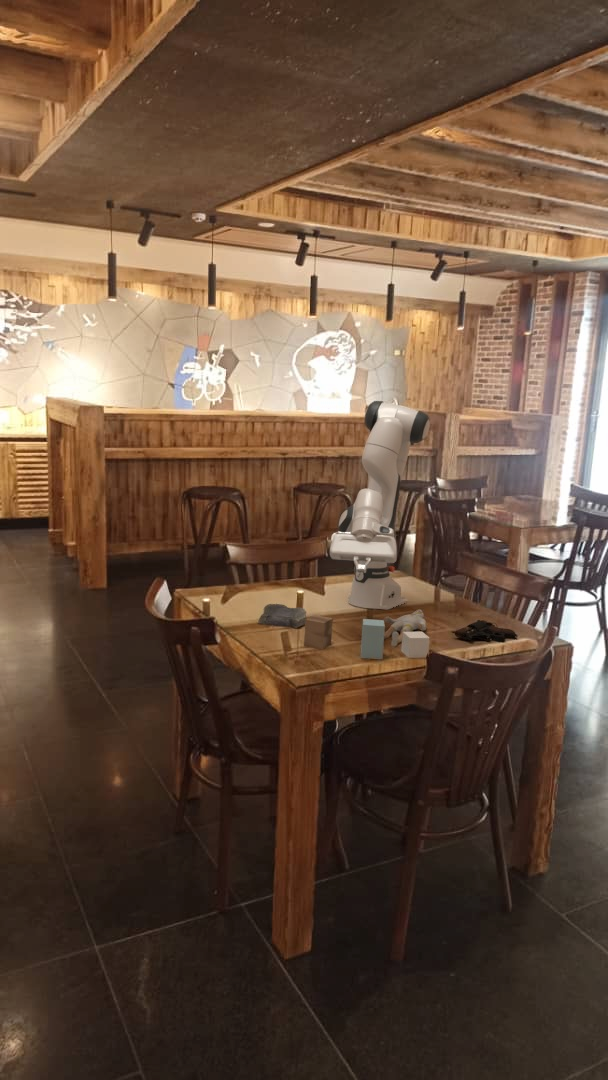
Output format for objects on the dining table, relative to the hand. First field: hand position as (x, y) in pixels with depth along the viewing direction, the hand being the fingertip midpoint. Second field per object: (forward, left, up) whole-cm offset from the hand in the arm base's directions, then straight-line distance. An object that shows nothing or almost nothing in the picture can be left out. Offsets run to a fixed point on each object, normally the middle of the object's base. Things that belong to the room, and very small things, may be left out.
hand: (360, 571), depth 233 cm
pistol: (-38, +21, -22) cm, 49 cm away
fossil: (+4, -29, -22) cm, 37 cm away
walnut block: (+12, -4, -22) cm, 25 cm away
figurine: (-19, +2, -22) cm, 30 cm away
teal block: (+6, +12, -22) cm, 25 cm away
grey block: (-6, +18, -22) cm, 29 cm away
